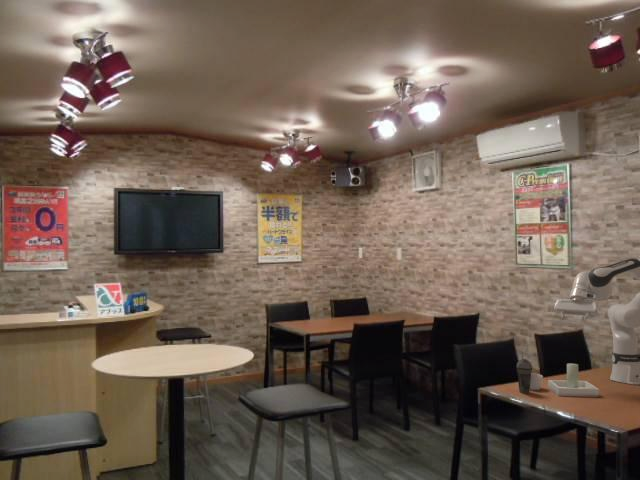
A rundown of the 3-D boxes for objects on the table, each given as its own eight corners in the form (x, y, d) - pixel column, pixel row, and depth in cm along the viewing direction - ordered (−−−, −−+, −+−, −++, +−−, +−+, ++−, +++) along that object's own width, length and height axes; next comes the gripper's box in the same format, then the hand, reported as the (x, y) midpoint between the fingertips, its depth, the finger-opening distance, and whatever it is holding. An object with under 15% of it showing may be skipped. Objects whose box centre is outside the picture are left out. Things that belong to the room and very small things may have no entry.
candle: (521, 389, 267) (521, 376, 267) (524, 385, 275) (524, 372, 275) (541, 391, 263) (541, 378, 263) (543, 387, 271) (543, 374, 271)
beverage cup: (533, 394, 257) (533, 351, 258) (517, 393, 259) (517, 351, 259) (531, 390, 264) (530, 348, 265) (515, 389, 266) (514, 348, 266)
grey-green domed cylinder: (576, 388, 264) (576, 363, 264) (580, 391, 259) (579, 365, 259) (565, 388, 265) (565, 363, 265) (569, 390, 260) (568, 365, 260)
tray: (586, 388, 269) (586, 381, 269) (599, 396, 253) (599, 389, 253) (548, 387, 271) (548, 380, 271) (558, 395, 255) (558, 388, 255)
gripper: (555, 293, 281) (549, 314, 274) (599, 295, 268) (594, 317, 261) (558, 301, 285) (552, 322, 277) (601, 304, 271) (596, 326, 264)
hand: (573, 320), depth 269 cm, fingers open, 8 cm apart
